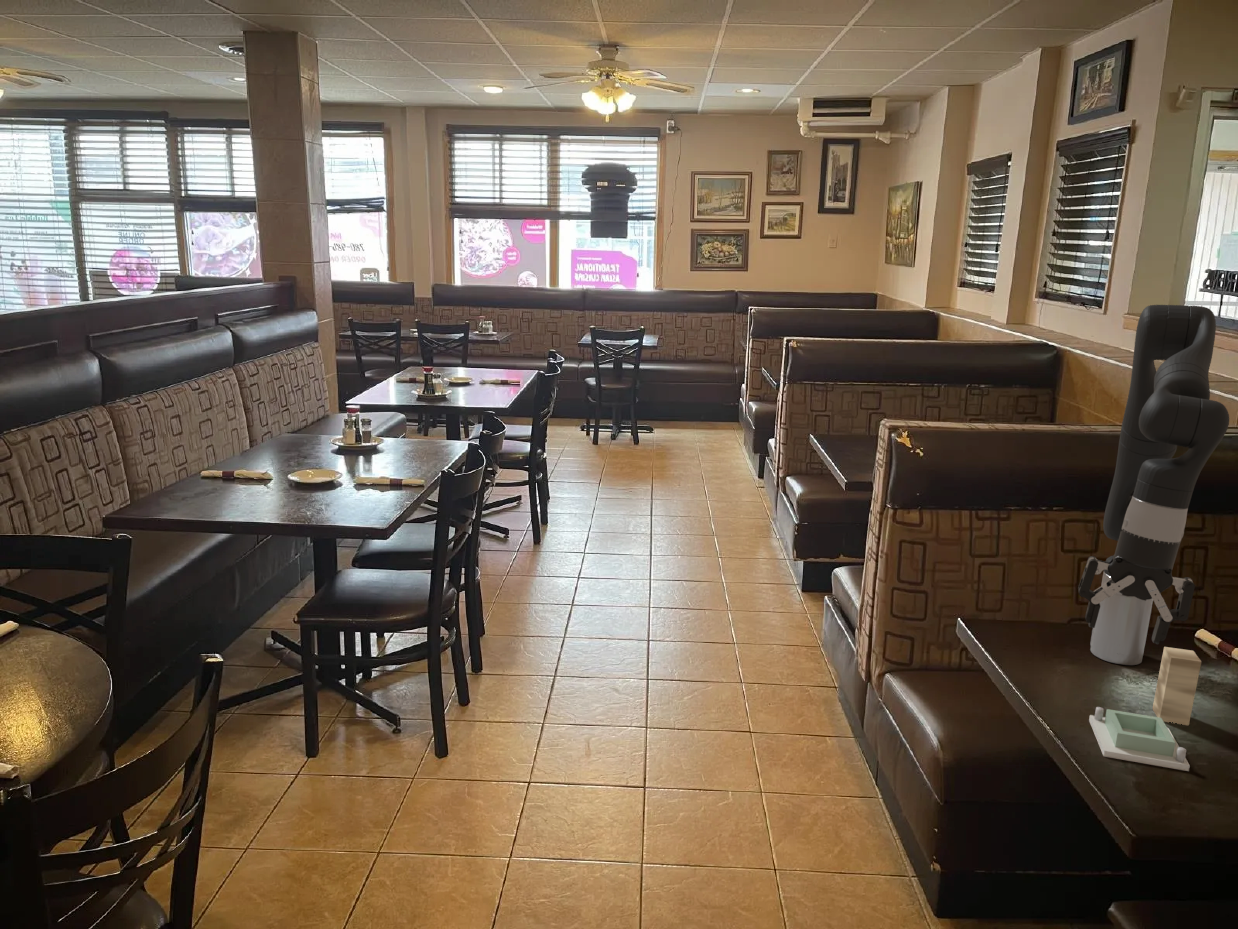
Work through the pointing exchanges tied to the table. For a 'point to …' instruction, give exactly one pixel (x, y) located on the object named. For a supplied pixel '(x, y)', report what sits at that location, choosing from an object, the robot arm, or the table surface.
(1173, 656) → the maple block
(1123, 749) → the socket plate
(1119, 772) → the table surface
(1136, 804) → the table surface
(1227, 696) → the table surface
